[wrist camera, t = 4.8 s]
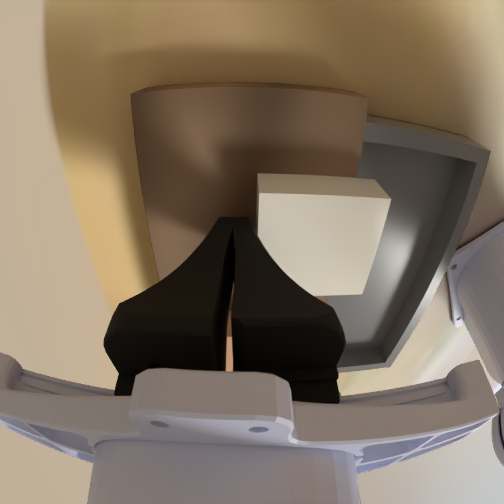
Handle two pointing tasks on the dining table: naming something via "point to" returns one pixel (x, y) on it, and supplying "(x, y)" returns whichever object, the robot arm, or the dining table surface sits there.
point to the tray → (408, 233)
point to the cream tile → (321, 228)
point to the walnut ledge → (233, 152)
